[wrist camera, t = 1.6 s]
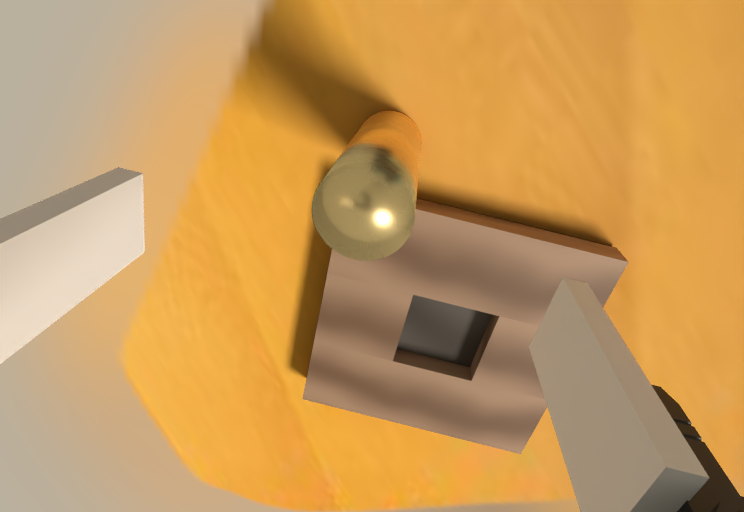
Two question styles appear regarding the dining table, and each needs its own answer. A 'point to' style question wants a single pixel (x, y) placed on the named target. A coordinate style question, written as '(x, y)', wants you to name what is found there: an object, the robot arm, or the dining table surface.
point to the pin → (371, 189)
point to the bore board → (449, 324)
